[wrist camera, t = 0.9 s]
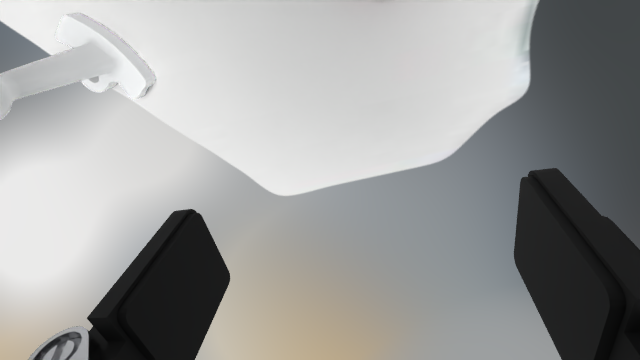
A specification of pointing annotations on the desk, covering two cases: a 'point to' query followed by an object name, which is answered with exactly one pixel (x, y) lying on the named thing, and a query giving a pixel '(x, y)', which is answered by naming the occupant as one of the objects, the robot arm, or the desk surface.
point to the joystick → (79, 64)
